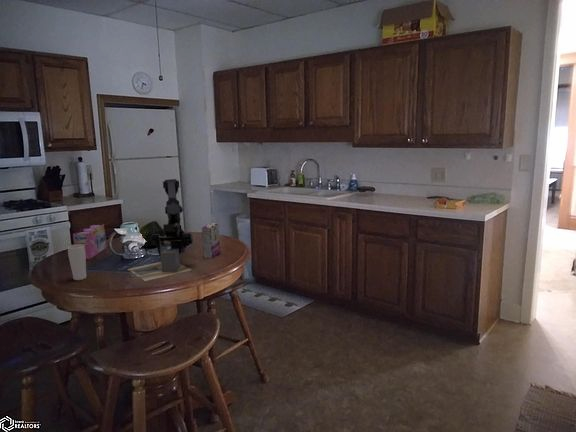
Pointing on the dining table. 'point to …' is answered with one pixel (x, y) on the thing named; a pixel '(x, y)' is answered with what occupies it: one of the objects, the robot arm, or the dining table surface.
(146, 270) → the birch board
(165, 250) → the charcoal cover
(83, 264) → the drinking glass
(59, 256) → the dining table surface
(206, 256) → the candy bar box
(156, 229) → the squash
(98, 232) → the gum box
